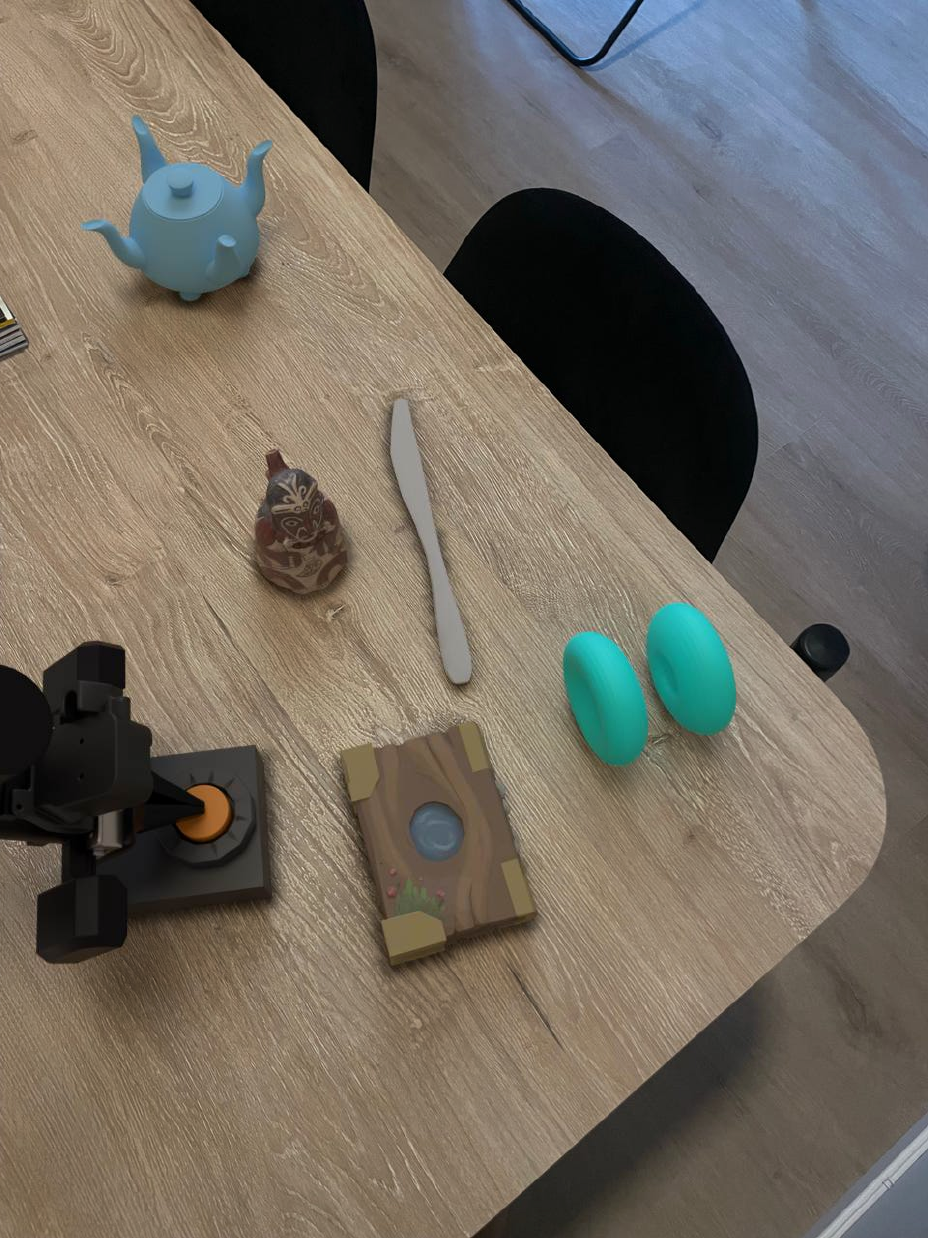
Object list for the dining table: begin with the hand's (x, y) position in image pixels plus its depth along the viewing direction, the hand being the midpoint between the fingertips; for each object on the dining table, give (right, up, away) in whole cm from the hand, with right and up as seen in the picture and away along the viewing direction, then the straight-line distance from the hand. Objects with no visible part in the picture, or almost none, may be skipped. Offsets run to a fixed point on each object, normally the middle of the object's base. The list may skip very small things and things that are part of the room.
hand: (201, 809), depth 71 cm
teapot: (-7, +45, +28) cm, 54 cm away
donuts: (+30, +6, +12) cm, 33 cm away
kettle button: (0, -1, +2) cm, 3 cm away
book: (+16, -4, +7) cm, 17 cm away
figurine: (+4, +18, +16) cm, 24 cm away
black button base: (-2, -3, +6) cm, 7 cm away
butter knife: (+14, +20, +17) cm, 29 cm away
